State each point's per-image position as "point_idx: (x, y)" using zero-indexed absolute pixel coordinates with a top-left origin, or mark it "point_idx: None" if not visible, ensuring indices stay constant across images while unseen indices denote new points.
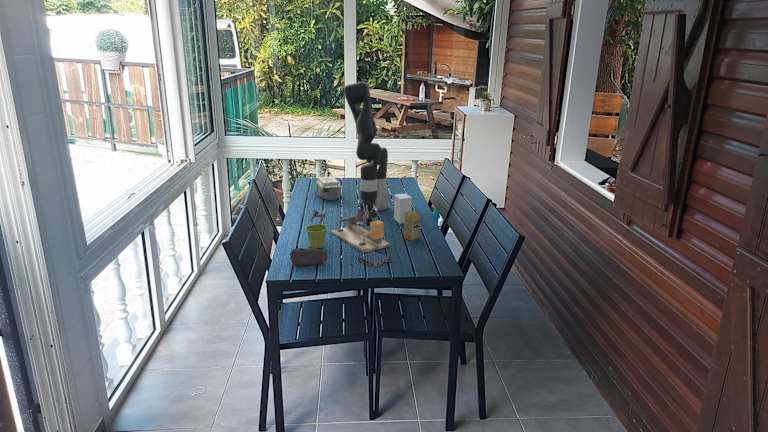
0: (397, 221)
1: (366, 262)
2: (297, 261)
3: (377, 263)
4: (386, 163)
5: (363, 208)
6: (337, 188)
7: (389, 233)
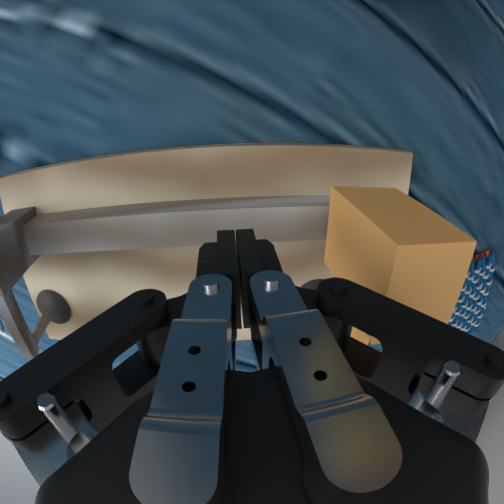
0: None
1: None
2: None
3: (479, 314)
4: None
5: (113, 404)
6: None
7: (204, 9)
